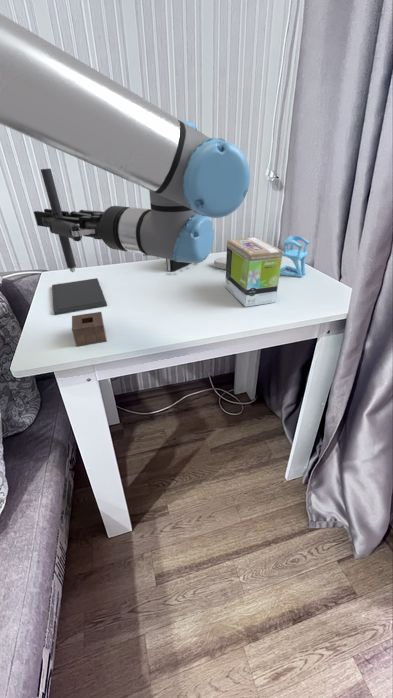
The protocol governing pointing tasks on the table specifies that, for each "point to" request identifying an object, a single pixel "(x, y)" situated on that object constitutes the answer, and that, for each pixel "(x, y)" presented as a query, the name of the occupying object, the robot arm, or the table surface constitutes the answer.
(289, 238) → the chair
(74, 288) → the dark grey flat block
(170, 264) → the camera
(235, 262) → the tea box
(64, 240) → the stylus
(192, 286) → the table surface
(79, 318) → the pen stand
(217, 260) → the electronic device
